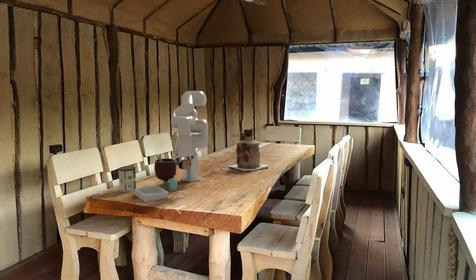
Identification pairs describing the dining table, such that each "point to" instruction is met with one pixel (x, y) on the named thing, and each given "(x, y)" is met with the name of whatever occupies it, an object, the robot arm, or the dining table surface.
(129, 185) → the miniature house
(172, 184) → the teal rounded capsule
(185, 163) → the walnut cube
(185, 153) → the robot arm
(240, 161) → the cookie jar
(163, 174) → the mate gourd
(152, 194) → the grey tote
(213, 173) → the dining table surface
